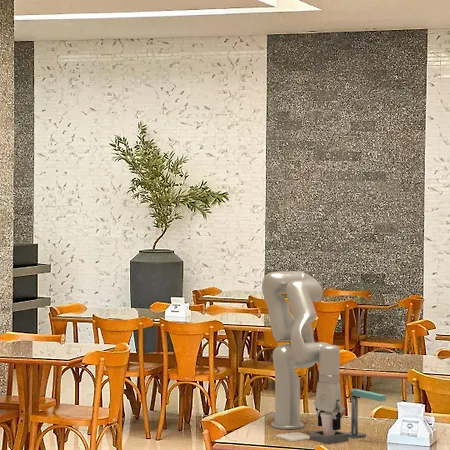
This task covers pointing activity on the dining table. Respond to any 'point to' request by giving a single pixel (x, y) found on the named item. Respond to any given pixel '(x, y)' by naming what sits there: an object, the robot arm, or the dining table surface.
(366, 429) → the dining table surface
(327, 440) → the dark grey square tray
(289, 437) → the coaster pad
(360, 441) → the dining table surface
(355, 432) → the post
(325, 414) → the smoothie
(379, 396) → the teal bar
